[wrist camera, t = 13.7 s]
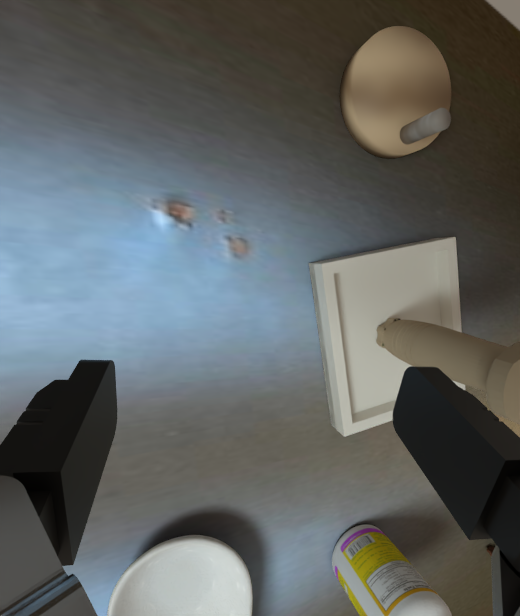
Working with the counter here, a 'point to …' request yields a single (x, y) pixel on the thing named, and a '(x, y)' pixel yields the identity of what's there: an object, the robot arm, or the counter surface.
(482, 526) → the robot arm
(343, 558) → the supplement bottle
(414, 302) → the tray
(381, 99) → the crank wheel
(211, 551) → the white spoon
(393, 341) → the handle
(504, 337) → the counter surface
